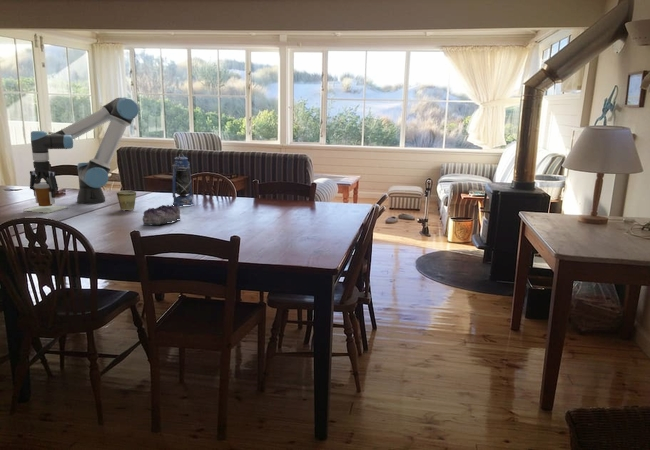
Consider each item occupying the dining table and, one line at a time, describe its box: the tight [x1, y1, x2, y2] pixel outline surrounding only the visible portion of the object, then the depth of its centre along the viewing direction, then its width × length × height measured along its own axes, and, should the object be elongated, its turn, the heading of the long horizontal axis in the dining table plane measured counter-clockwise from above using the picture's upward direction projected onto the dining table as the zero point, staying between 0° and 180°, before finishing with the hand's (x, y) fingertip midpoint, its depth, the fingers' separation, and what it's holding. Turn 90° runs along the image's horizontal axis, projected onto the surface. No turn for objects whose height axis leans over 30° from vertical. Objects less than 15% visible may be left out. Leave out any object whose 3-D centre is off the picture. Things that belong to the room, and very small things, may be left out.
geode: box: [142, 204, 181, 226], centre depth 245 cm, size 20×12×10 cm, turn 153°
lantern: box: [171, 153, 194, 206], centre depth 288 cm, size 15×12×30 cm
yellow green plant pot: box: [116, 190, 137, 211], centre depth 273 cm, size 13×10×10 cm
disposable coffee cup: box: [33, 181, 53, 206], centre depth 266 cm, size 10×10×12 cm
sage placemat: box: [22, 205, 69, 214], centre depth 267 cm, size 15×15×1 cm
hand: (45, 203), depth 267 cm, fingers closed on disposable coffee cup, 8 cm apart
